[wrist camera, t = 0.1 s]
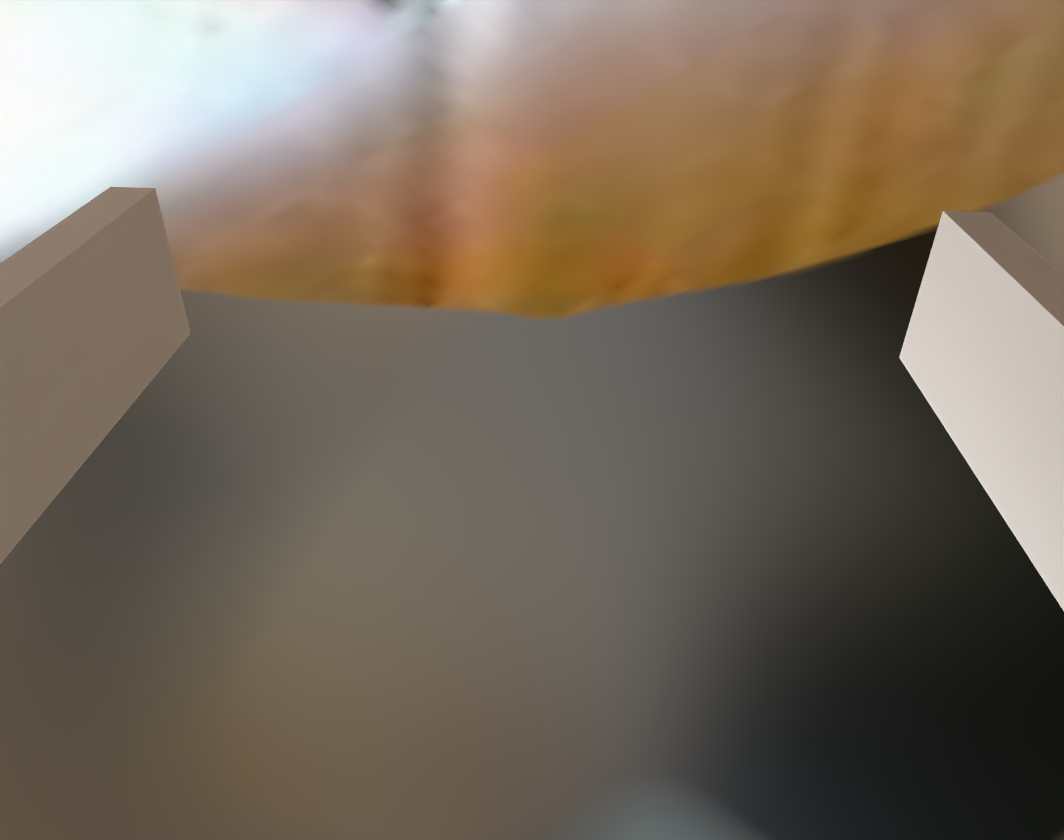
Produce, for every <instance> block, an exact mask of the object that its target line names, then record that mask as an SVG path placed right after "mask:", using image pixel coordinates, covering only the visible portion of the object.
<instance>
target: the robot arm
mask: <svg viewBox="0 0 1064 840" xmlns="http://www.w3.org/2000/svg"><path fill="white" fill-rule="evenodd" d="M189 334H190V330H189V326H188V321H187V317H186V313H185V309H184V305H183V301H182V297H181V293H180V288H179V284H178V280H177V276H176V272H175V268H174V264H173V260H172V256H171V251H170V247H169V243H168V239H167V235H166V231H165V227H164V223H163V218H162V214H161V210H160V206H159V202H158V198H157V194H156V190H155V188H126V187H110V188H109V189H107V190H106V191H104V192H103V193H101V194H100V195H98V196H97V197H96V198H94V199H93V200H91V201H90V202H88V203H87V204H85V205H84V206H83V207H81V208H80V209H78V210H77V211H75V212H74V213H73V214H71V215H70V216H68V217H67V218H65V219H64V220H62V221H61V222H60V223H58V224H57V225H55V226H54V227H52V228H51V229H49V230H48V231H47V232H45V233H44V234H42V235H41V236H39V237H38V238H36V239H35V240H34V241H32V242H31V243H29V244H28V245H26V246H25V247H24V248H22V249H21V250H19V251H18V252H16V253H15V254H13V255H12V256H11V257H9V258H8V259H6V260H5V261H3V262H2V263H0V564H1V562H2V561H3V560H4V559H5V557H6V556H7V555H8V554H9V553H10V552H11V550H12V549H13V548H14V547H15V545H16V544H17V543H18V542H19V540H20V539H21V538H22V537H23V536H24V535H25V533H26V532H27V531H28V530H29V528H30V527H31V526H32V525H33V524H34V522H35V521H36V520H37V519H38V517H39V516H40V515H41V514H42V513H43V511H44V510H45V509H46V508H47V506H48V505H49V504H50V503H51V501H53V499H54V498H55V497H56V496H57V494H58V493H59V492H60V491H61V490H62V488H63V487H64V486H65V485H66V484H67V482H68V481H69V480H70V479H71V477H72V476H73V475H74V474H75V473H76V471H77V470H78V469H79V468H80V467H81V465H82V464H83V463H84V461H86V459H87V458H88V457H89V456H90V454H91V453H92V452H93V451H94V450H95V448H96V447H97V446H98V445H99V444H100V442H101V441H102V440H103V439H104V437H105V436H106V435H107V434H108V433H109V431H110V430H111V429H112V427H113V426H114V425H115V424H116V423H117V422H118V420H119V419H120V418H121V417H122V416H123V414H124V413H125V412H126V411H127V410H128V408H129V407H130V406H131V405H132V404H133V402H134V401H135V400H136V399H137V397H138V396H139V395H140V394H141V393H142V391H143V390H144V389H145V387H146V386H147V385H148V384H149V383H150V382H151V380H152V379H153V378H154V377H155V376H156V374H157V373H158V372H159V371H160V370H161V368H162V367H163V366H164V365H165V363H166V362H167V361H168V360H169V359H170V357H171V356H172V355H173V354H174V352H175V351H176V350H177V349H178V348H179V346H180V345H181V344H182V343H183V341H184V340H185V339H186V338H187V337H188V335H189ZM900 359H901V361H902V362H903V364H904V365H905V367H906V368H907V370H908V371H909V373H910V374H911V376H912V378H913V379H914V381H915V382H916V384H917V385H918V387H919V388H920V390H921V391H922V393H923V395H924V396H925V398H926V399H927V401H928V402H929V404H930V405H931V407H932V408H933V410H934V412H935V413H936V415H937V416H938V418H939V419H940V421H941V422H942V424H943V426H944V427H945V429H946V430H947V431H948V433H949V435H950V436H951V438H952V439H953V441H954V443H955V444H956V446H957V447H958V449H959V450H960V452H961V453H962V455H963V456H964V458H965V459H966V461H967V462H968V464H969V466H970V467H971V469H972V470H973V472H974V473H975V475H976V476H977V478H978V480H979V481H980V483H981V484H982V486H983V487H984V489H985V490H986V492H987V493H988V495H989V497H990V498H991V499H992V501H993V503H994V504H995V506H996V507H997V509H998V510H999V512H1000V513H1001V515H1002V516H1003V518H1004V520H1005V521H1006V523H1007V524H1008V526H1009V527H1010V529H1011V530H1012V532H1013V533H1014V535H1015V536H1016V538H1017V540H1018V541H1019V543H1020V544H1021V546H1022V547H1023V549H1024V550H1025V552H1026V554H1027V555H1028V557H1029V558H1030V560H1031V561H1032V563H1033V564H1034V566H1035V567H1036V569H1037V571H1038V572H1039V574H1040V575H1041V577H1042V578H1043V580H1044V581H1045V583H1046V584H1047V586H1048V588H1049V589H1050V591H1051V592H1052V594H1053V595H1054V597H1055V598H1056V600H1057V601H1058V603H1059V604H1060V606H1061V608H1062V609H1063V611H1064V274H1062V273H1061V272H1060V271H1059V270H1058V269H1057V268H1055V267H1054V266H1053V265H1052V264H1051V263H1050V262H1048V261H1047V260H1046V259H1045V258H1044V257H1042V256H1041V255H1040V254H1039V253H1038V252H1037V251H1035V250H1034V249H1033V248H1032V247H1031V246H1029V245H1028V244H1027V243H1026V242H1025V241H1024V240H1022V239H1021V238H1020V237H1019V236H1018V235H1016V234H1015V233H1014V232H1013V231H1012V230H1011V229H1009V228H1008V227H1007V226H1006V225H1005V224H1004V223H1002V222H1001V221H1000V220H999V219H998V218H997V217H995V216H994V215H993V214H992V213H991V212H963V211H943V213H942V216H941V219H940V223H939V226H938V229H937V233H936V237H935V240H934V243H933V246H932V250H931V253H930V256H929V260H928V263H927V267H926V270H925V273H924V277H923V280H922V283H921V287H920V290H919V293H918V297H917V300H916V303H915V307H914V310H913V313H912V317H911V320H910V324H909V327H908V330H907V334H906V337H905V340H904V344H903V347H902V350H901V354H900Z"/></svg>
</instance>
